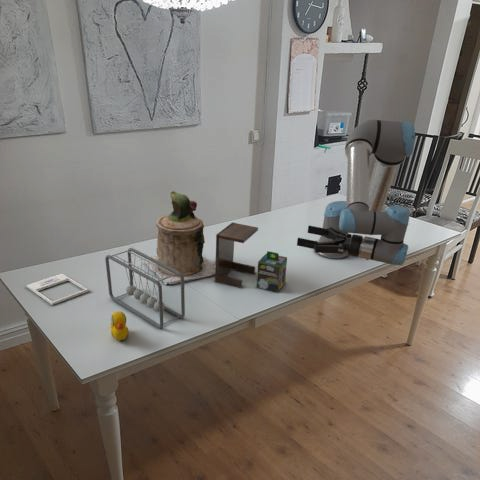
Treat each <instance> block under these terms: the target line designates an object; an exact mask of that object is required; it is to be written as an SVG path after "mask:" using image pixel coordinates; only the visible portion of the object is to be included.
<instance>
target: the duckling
mask: <svg viewBox="0 0 480 480" xmlns="http://www.w3.org/2000/svg"><path fill="white" fill-rule="evenodd" d="M110 318H111V319H110V320H111V322H110V333H111V337H112V338H114V339H115V340H117V341H123V340H126V339H127V338H128V335H129V333H130V331H129V327H128V326H127V315H126V314H125V313H124V312H123V311H114V312H113V313H112V314H111V317H110Z"/></svg>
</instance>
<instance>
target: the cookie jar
mask: <svg viewBox="0 0 480 480" xmlns="http://www.w3.org/2000/svg"><path fill="white" fill-rule="evenodd" d="M170 199H171V202H170V203H171V205H172V209H173V210H172V212H171V213H169V214H167V215H163V216H160V217H159V218H157V220H156V222H155V226H156V227H157V236H156V237H157V238H156V245H157V246H156V256H150V257H151V258H153V259H155V260H157V261H159V262H161V263H163V264H165V265H167V266H169V267H171V268H173V269H175V270H177V271H179V272H181V273H182V275H183V277H184V282H190V281H194V280H198V279H203V278H208V277H213V276H215V269H216V265H215V264H212V263H211V262H210V261H209V260H208V259H206V258H205V257H204V256H203V251H204V244H205V235H204V228H205V224H204V221H203V219H202V218H198V217H197V216H196V215H195V213H194V212H195V211H197V206H198V202H197V201H195V200H190V198H189V196H187V195H186V194H182V193H178V192H176V191H174V190H171V191H170ZM143 258H144V257H143ZM144 259H145V260H147V261H149V262H151V263H153V264H155V265H157V266H159V267H161V268H163V269H165V270H167V271H169V272H171V273H173V274H176V273H174V272H172V271H170V270H168V269H166V268H164V267H162V266H160V265H158V264H156V263H154V262H152V261H150V260H148V259H146V258H144ZM145 260H143V261H144V264H145V265H146V266H147V267H148V266H149V269H150V268H151V269H150V270H151V271H152V272H154V273H155V271H156V275H157V277H158V278H159V279H162V278H166V277H169V276H171V275H172V274H170V273H169V272H167V271H165V270H164V273H163V269H161V268H159V267H156V266H155V265H153V264H151V263H149V262H147V261H145ZM147 263H148V264H147ZM153 267H154V268H153ZM160 271H161V272H160ZM157 272H158V273H157ZM162 283H164V285H165V286H167V284H169V285H175V284H179V283H181V278H180V276H179V275H178V274H177V275H174V276H172V277H169V278H167V279H164V280H163V282H162Z"/></svg>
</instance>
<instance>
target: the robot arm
mask: <svg viewBox="0 0 480 480" xmlns="http://www.w3.org/2000/svg"><path fill="white" fill-rule="evenodd" d="M415 139H416V129H415V125H414V124H413V122H406V121H403V120H401V121H395V120H394V121H393V120H383V119H382V120H381V119H368V120H365V121H363V122H361V123H359V124H358V125H357V126H356V127H355V128H353V129H352V131H351V132H350V134H349V135H348V137H347V139H346V142H345V147H344V154H345V157H346V158H347V168H346V170H347V173H346V200H336V201H332V202H329V203H328V204H327V205H326V206H325V210H324V214H323V223H322V227H319V226H315V225H308V226H307V234H312V235H316V236H320V237H319V238H318V240H311V239H308V238H303V237H297V239H296V240H297V241H296V246H298V247H302V248H307V249H311V250H314V253H315V254H316V255H318V256H320V257H323V258H326V259H332V260H340V259H344V258H346V257H348V256H350V257H355V258H358V257H359V258H360V259H365V260H366V261H368V260H371V261H375V262H379V263H383V264H388V265H394V266H403V265H404V263H405V262H406V257H407V254H408V251H409V244H407V243H405V242H404V240H405V236H406V233H407V229H408V226H409V222H410V215H411V211H410V210H409V209H408V208H407V207H405V206H402V205H390V206H388V207H387V208H386V206H385V204H386V201H387V198H388V196H389V193H390V190H391V187H392V185H393V181H394V178H395V175H396V172H397V170H398V167H399V166H400V165H401V164H403V163H404V161H405V159H406V158H408V157H409V158H410V157H411V156H412V155H413V152H414V148H415V141H416V140H415ZM372 155H373V157H374V159H375V163H374V166H373V168H372V169H373V170H372V173H371V176H370V157H371V156H372ZM363 235H365V236H363ZM373 236H380V238H376V237H373Z"/></svg>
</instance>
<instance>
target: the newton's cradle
mask: <svg viewBox="0 0 480 480" xmlns="http://www.w3.org/2000/svg"><path fill="white" fill-rule="evenodd" d="M125 253H127V258H121V257H120V256H118V255H122V254H125ZM132 255H133V256H132ZM133 257H134V258H135V257H137V258H139V259H138V260H134V261H133V262H132V258H133ZM151 257H152V256H149V255H147V254H145V253H143V252H141V251H140V250H137V249H135V248H133V247H129V248H128V249H127V250H125V251H122V252H119V253H115V254H112V255H110V254H106V256H105V259H104V260H105V269H106V280H107V286H108V288H107V289H108V294H109V297H110V299H111V300H112V301H114V302H115V303H117V304H119V305H121V306H122V307H123V308H125V309H127V310H129V311H130V312H132V313H133V314H135V315H136V316H138V317H140V318H141V319H143V320H145V321H146V322H148V323H149V324H151V325H153V326H154V327H156V328H157V329H162V328H163V327H164V325H166V324H169V323H170V322H172V321H174V320H177V319H183V318H185V313H186V309H185V308H186V306H185V305H186V304H185V303H186V301H185V281H184V277H183V275H182V273H181V272H179V271H177V270H175V269H173V268H171V267H169V266H167V265H165V264H163V263H161V262H159V261H157V260H155V259H153V258H151ZM144 258H146V259H148V260H150V261H152V262H154V263H156V264H158V265H160V266H162V267H164V268H166V269H168V270H170V271H172V272H174V273H176V274H173V273H171V272H169V271H167V270H165V269H163V268H161V267H159V266H157V265H155V264H153V263H151V262H149V261H147V260H145V259H144ZM126 259H127V260H126ZM110 260H111V261H113V262H115V263H117V264H118V265H120V266H122V267H124V269H125V271H126V274H127V279H128V283H129V285H128V286H127V287H126V289H125V291H126V293H123V294H122V295H118V296H116V297H115V296H114V293H113V288H112V277H111V267H110ZM144 260H145V261H147V262H149V263H151V264H153V265H155V266H156V267H159V268H161V269H163V273H164V270H165V271H167V272H169V273H170V274H172V275H171V276H169V277H172V276H174V275H177V274H178V275H179V276H180V278H181V282H180V305H181V306H180V309H181V310H180V311H181V314H180V313H178V312H176V311H175V310H173V309H171V308H170V307H168V306H166V305H165V303H164V301H163V285H162V283H164V282H163V280H164V279H167V278H169V277H166V278H162V279H160V277H158V276H156V275H157V274H156V271H155V272H154V273H153V274H152V273H150V271H149V270H151V268H149V266H148V265H147V264H148V263H147V264H145V263H144V264H143V262H141V263H140V264H141V265H138V266H136V265H135V264H136V262H140V261H144ZM145 261H144V262H145ZM144 265H147V267H148V268H147V269H145V270H144V269H143V268H142V267H143V266H144ZM153 268H154V267H153ZM127 269H128V271H127ZM160 272H161V271H160ZM157 273H158V272H157ZM135 274H137V275H138V277H139V281H140V283H139V285H138V286H137V282H136V278H135ZM142 277H143V278H144V279H146V285H145V290H144V287H143V284H142V279H141V278H142ZM148 281H150V282H152V283H153V288H154V289H153V290H152V294H151V290H150V286H149V282H148ZM160 282H161V283H160ZM134 283H135V285H134ZM140 285H141V286H140ZM156 286H157V288H158V289H157V288H156ZM138 287H139V288H138ZM140 287H142V289H140ZM147 288H148V291H149V293H147V292H145V291H147ZM156 289H157V290H158V293H157V290H156ZM154 293H155V294H156V297H155V296H152V295H155V294H154ZM126 295H128V296H132V297H133V298H134V299H135V300H137V301H140V302H141V303H142V304H146V305H147V307H149V308H151V309H154V311H156V312H157V313H159V323H157V322H156V321H154V320H152V319H151V318H149V317H147V316H146V315H144V314H142V313H141V312H139V311H138V310H136V309H134V308H133V307H132V306H129V305H128V304H127V303H125V302H123V301H121V300H120V299H118V298H121V297H123V296H126ZM164 310H165V311H166V312H168V313H170V314H172V315H173V316H174V318H172V319H170V320H168V321H164Z"/></svg>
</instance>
